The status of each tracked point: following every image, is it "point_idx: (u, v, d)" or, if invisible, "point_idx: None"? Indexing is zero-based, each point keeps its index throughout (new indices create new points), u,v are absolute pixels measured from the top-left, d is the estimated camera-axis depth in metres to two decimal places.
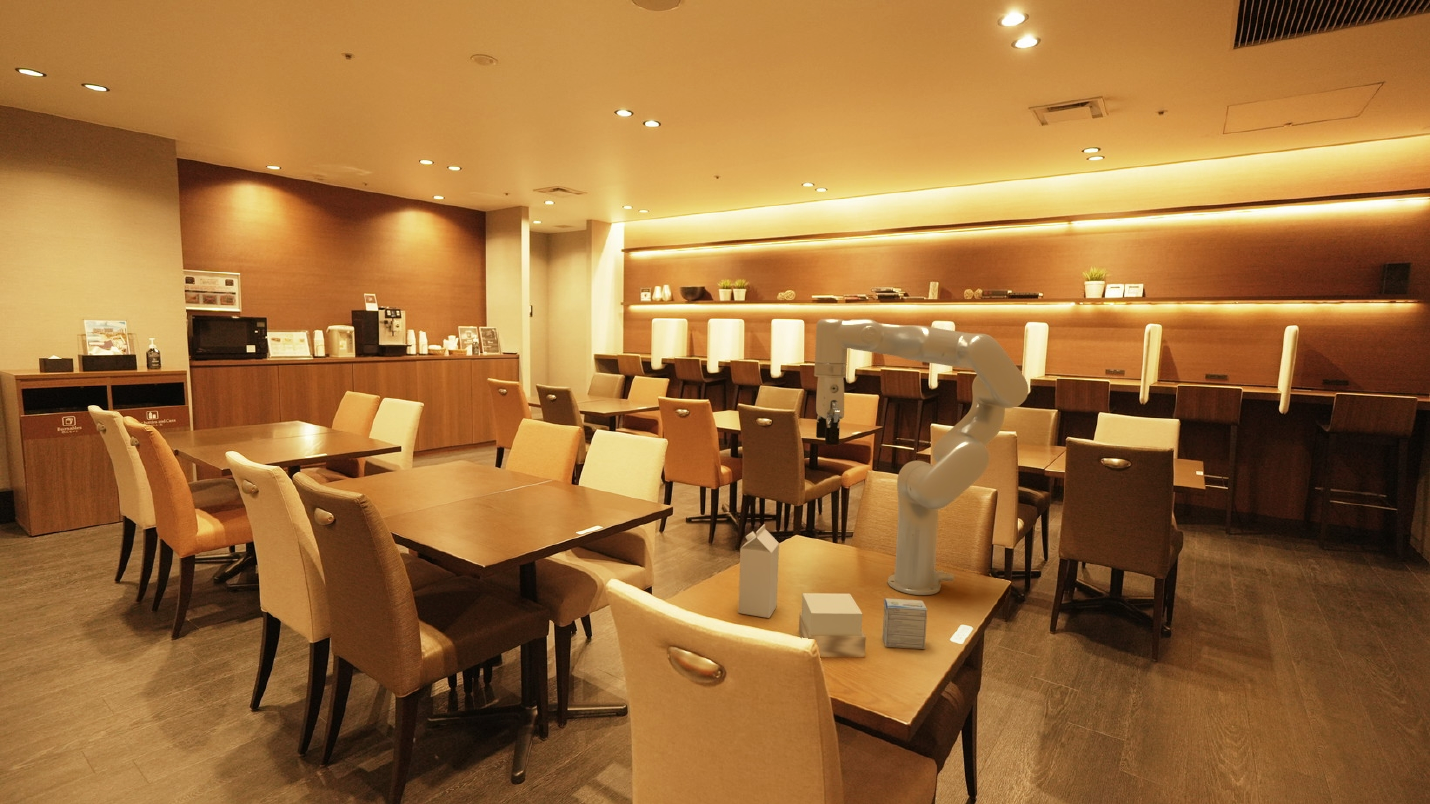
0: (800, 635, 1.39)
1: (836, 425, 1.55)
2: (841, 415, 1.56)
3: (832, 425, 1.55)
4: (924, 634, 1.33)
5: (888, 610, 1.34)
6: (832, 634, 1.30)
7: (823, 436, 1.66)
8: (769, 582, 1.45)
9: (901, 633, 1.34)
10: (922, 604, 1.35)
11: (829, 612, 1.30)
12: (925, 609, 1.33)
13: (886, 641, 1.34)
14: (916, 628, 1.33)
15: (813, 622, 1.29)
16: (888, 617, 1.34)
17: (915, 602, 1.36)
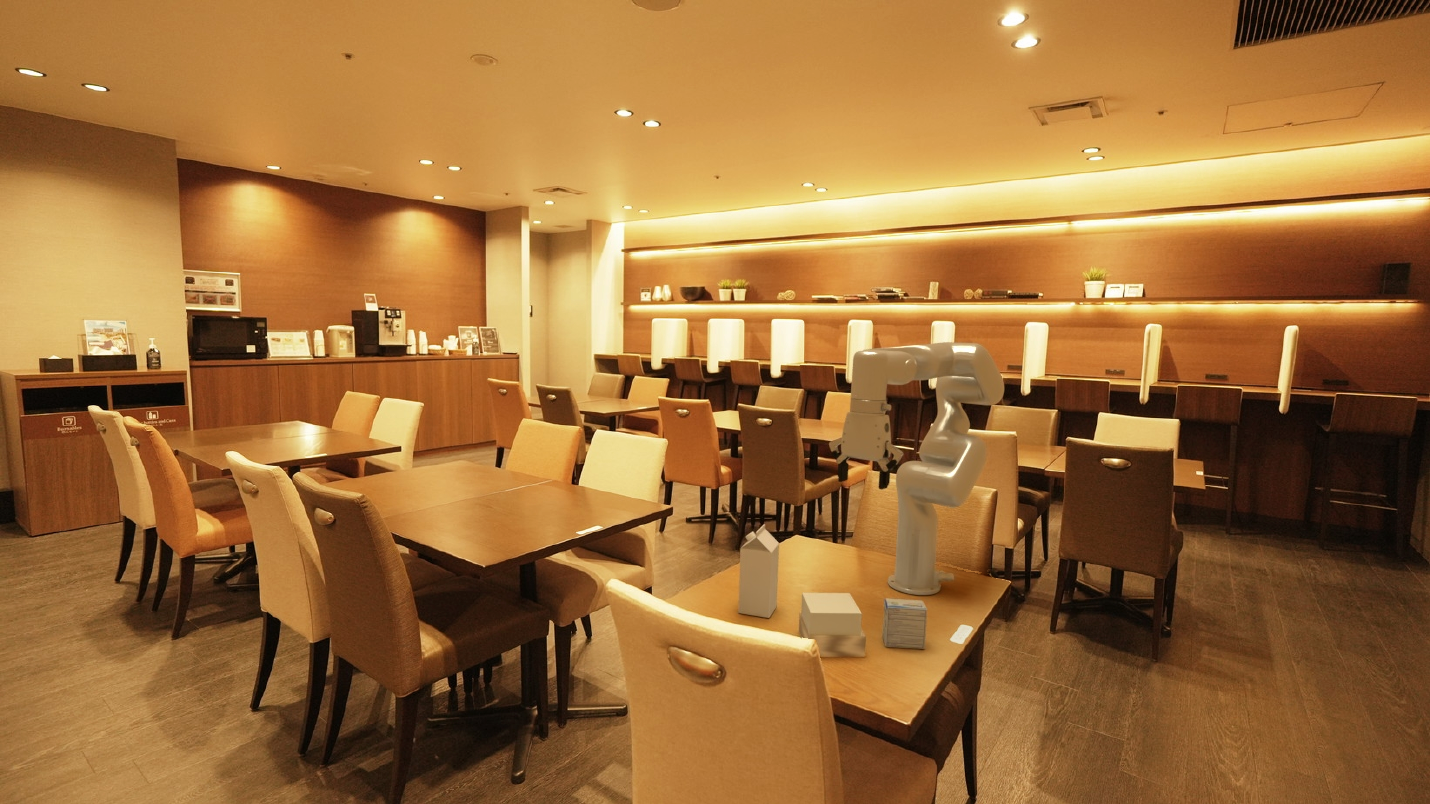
0: (800, 635, 1.39)
1: (893, 467, 1.43)
2: (889, 455, 1.45)
3: (891, 468, 1.42)
4: (924, 634, 1.33)
5: (888, 610, 1.34)
6: (831, 634, 1.30)
7: (844, 479, 1.50)
8: (769, 582, 1.45)
9: (901, 633, 1.34)
10: (922, 604, 1.35)
11: (829, 612, 1.30)
12: (925, 609, 1.33)
13: (886, 641, 1.34)
14: (916, 628, 1.33)
15: (812, 621, 1.30)
16: (888, 617, 1.34)
17: (915, 602, 1.36)
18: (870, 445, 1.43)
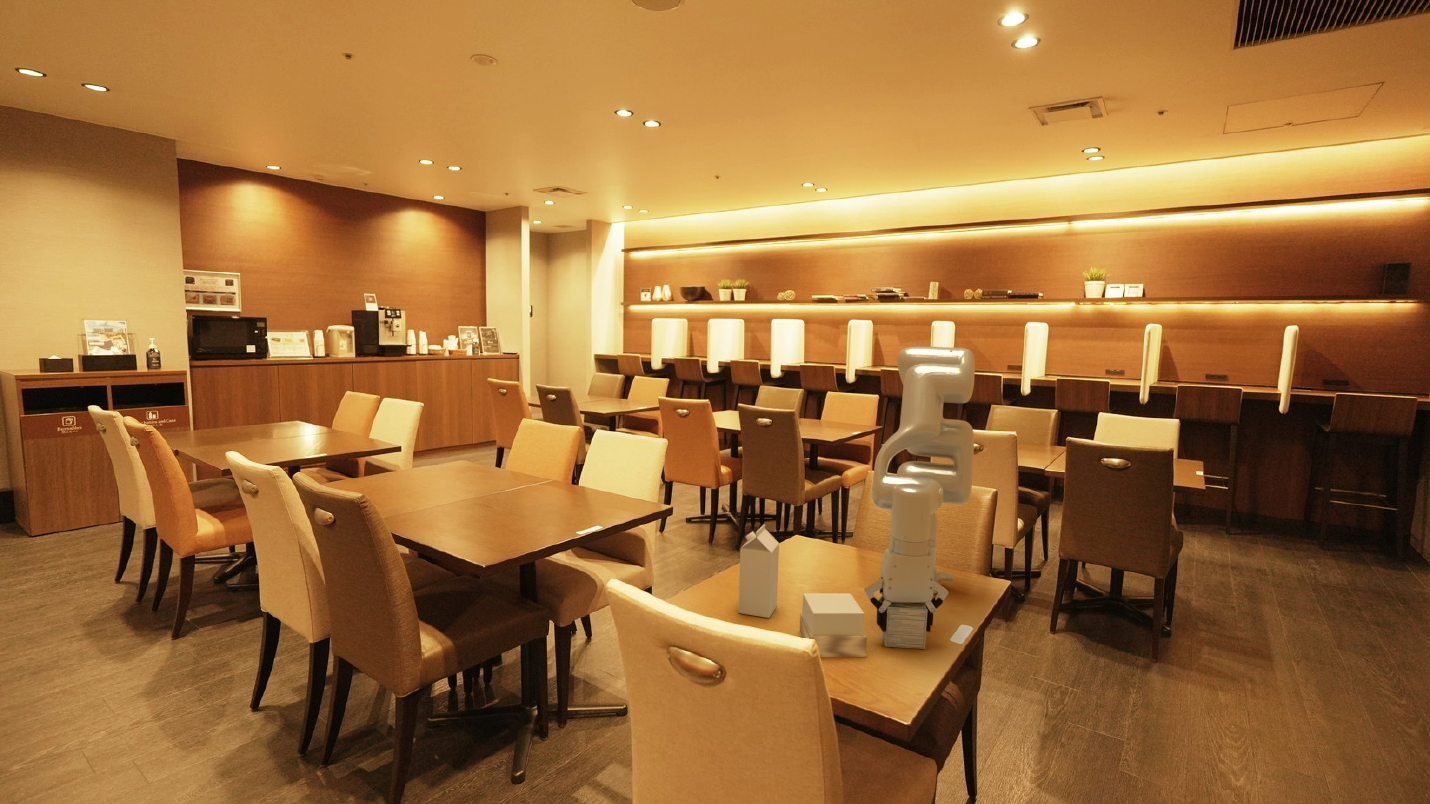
0: (801, 635, 1.38)
1: None
2: None
3: None
4: (924, 634, 1.33)
5: (888, 610, 1.34)
6: (834, 634, 1.30)
7: None
8: (769, 582, 1.45)
9: (901, 633, 1.34)
10: (922, 604, 1.35)
11: (831, 612, 1.30)
12: (925, 609, 1.33)
13: (886, 641, 1.34)
14: (916, 628, 1.33)
15: (815, 622, 1.30)
16: (888, 617, 1.34)
17: None
18: (922, 588, 1.33)
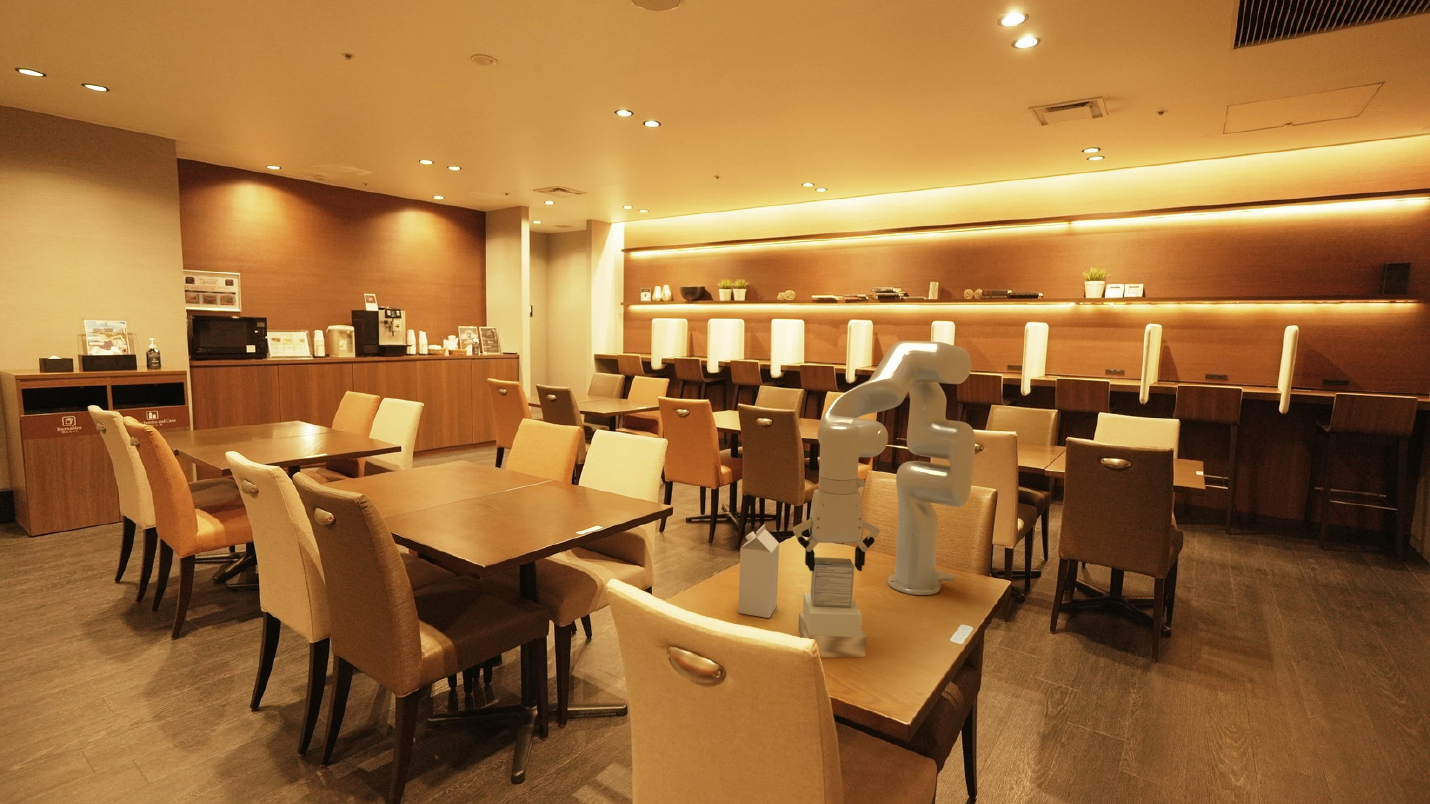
0: (800, 635, 1.38)
1: None
2: None
3: None
4: (851, 592, 1.32)
5: (815, 568, 1.32)
6: (831, 635, 1.30)
7: None
8: (769, 582, 1.45)
9: (828, 591, 1.32)
10: (850, 562, 1.33)
11: (828, 613, 1.30)
12: (852, 566, 1.31)
13: (813, 599, 1.32)
14: (844, 586, 1.32)
15: (812, 622, 1.29)
16: (815, 575, 1.32)
17: (843, 560, 1.34)
18: (850, 527, 1.31)
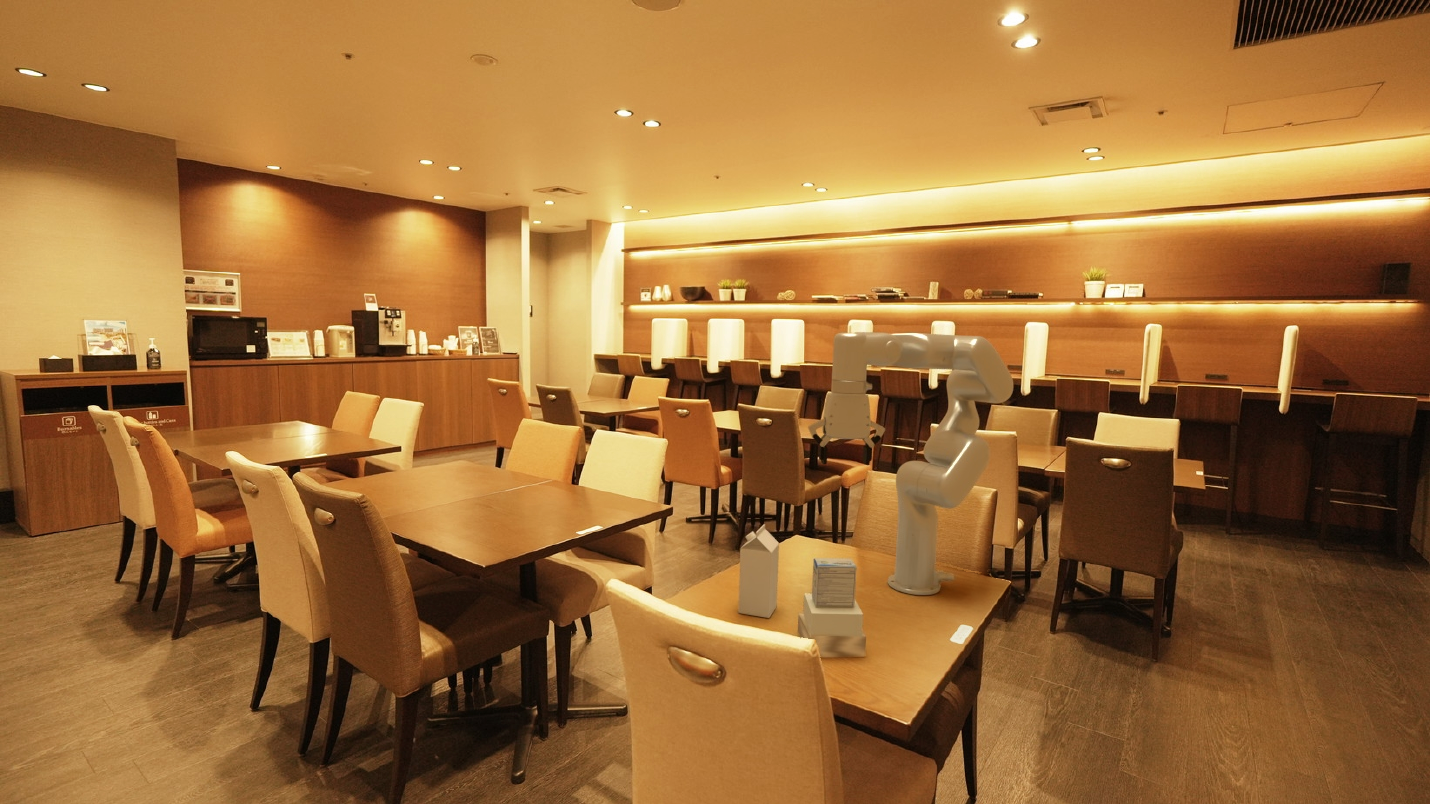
0: (799, 635, 1.38)
1: None
2: None
3: None
4: (853, 592, 1.32)
5: (818, 569, 1.31)
6: (833, 634, 1.30)
7: None
8: (769, 582, 1.45)
9: (831, 592, 1.32)
10: (851, 562, 1.33)
11: (830, 612, 1.30)
12: (854, 566, 1.31)
13: (816, 601, 1.32)
14: (846, 586, 1.32)
15: (813, 622, 1.29)
16: (818, 576, 1.31)
17: (844, 560, 1.34)
18: (859, 424, 1.48)
